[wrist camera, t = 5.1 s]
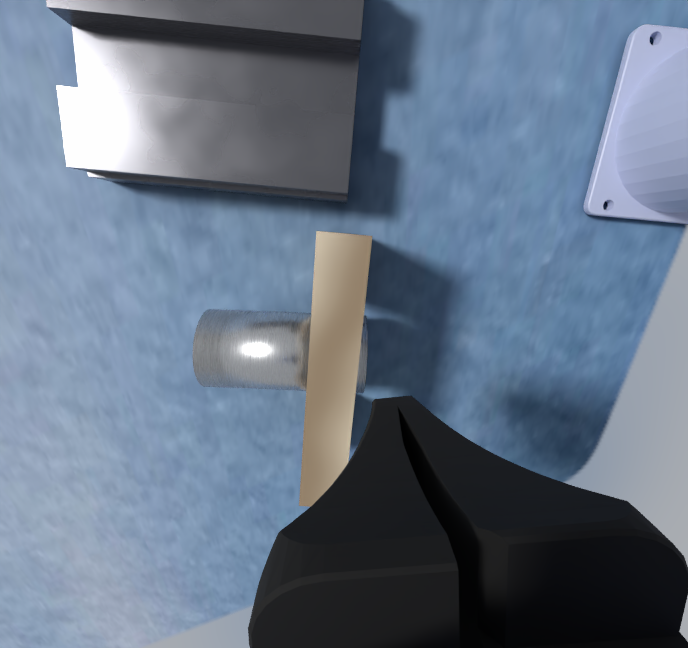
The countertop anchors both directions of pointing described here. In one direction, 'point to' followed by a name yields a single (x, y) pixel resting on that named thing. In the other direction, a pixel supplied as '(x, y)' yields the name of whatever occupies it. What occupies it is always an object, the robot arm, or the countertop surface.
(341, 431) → the beam
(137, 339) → the countertop surface
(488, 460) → the robot arm
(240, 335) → the silver metal cylinder
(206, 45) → the v block
